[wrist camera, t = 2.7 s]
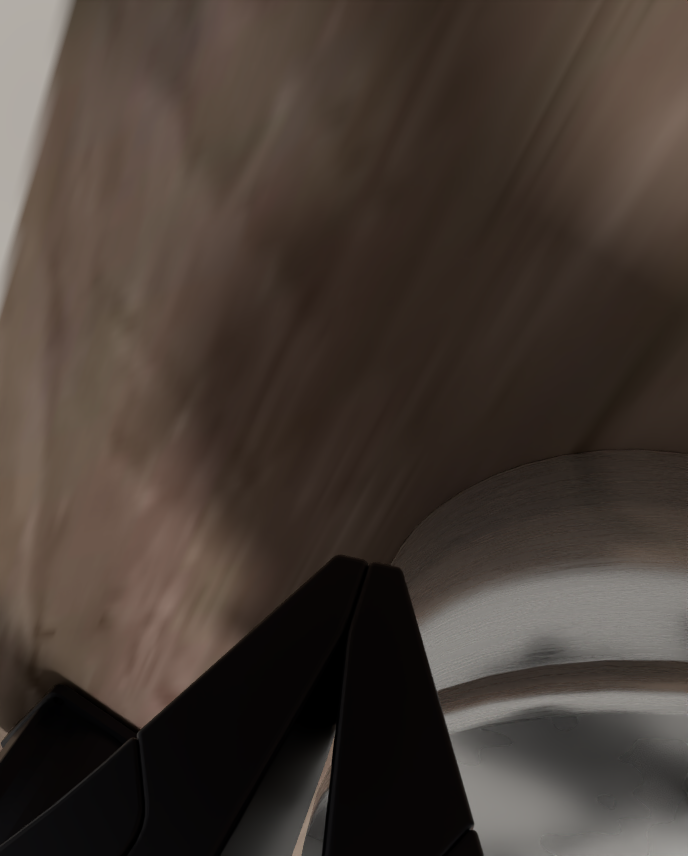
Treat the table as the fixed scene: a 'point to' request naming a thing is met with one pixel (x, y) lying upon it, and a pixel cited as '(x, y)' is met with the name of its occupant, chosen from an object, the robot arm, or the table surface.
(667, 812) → the cooker lid
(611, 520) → the pressure cooker pot
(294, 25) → the table surface
